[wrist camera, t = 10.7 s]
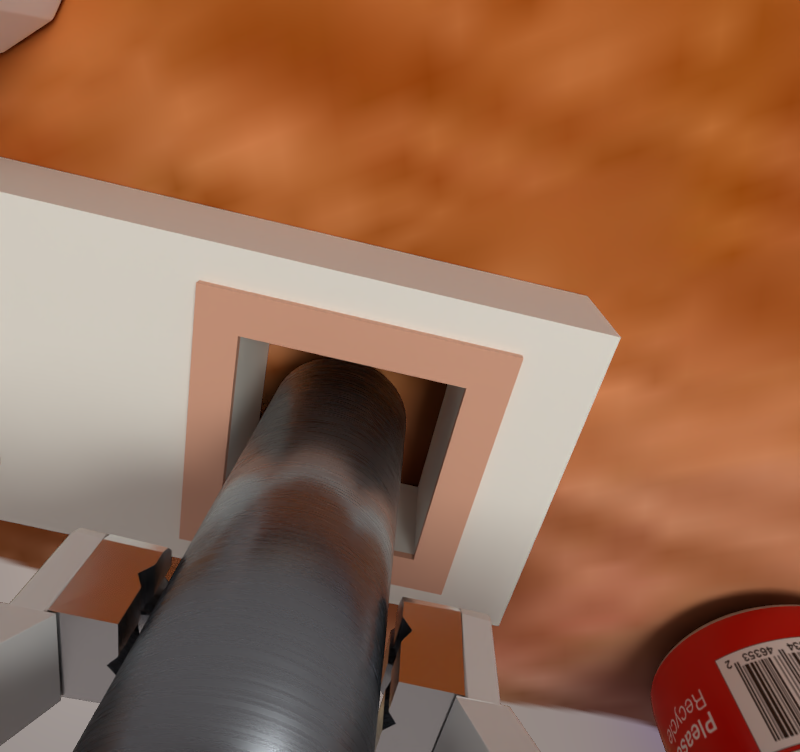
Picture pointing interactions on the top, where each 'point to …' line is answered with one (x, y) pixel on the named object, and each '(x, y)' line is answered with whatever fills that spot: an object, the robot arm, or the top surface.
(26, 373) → the dock board
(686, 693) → the soda can
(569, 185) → the top surface
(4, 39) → the white cup
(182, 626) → the pin
